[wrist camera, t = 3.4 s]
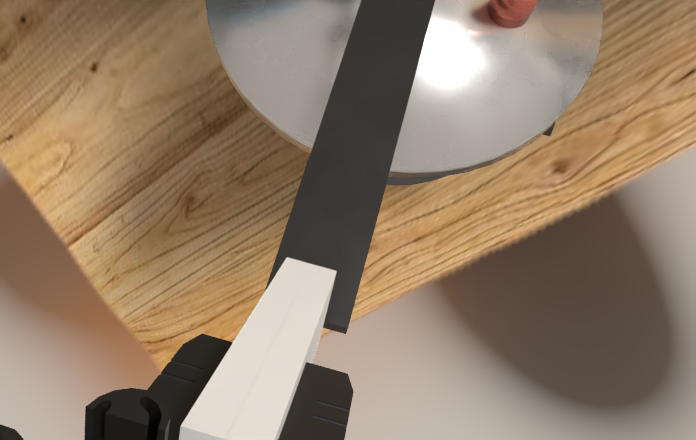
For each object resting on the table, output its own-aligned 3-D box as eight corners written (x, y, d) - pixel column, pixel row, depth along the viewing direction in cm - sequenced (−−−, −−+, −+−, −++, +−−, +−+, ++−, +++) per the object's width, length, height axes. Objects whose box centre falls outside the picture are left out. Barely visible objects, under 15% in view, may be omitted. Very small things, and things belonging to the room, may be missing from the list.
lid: (82, 263, 19) (36, 241, 16) (280, -161, 28) (273, -228, 25) (545, 393, 18) (587, 395, 15) (606, -86, 27) (642, -146, 24)
